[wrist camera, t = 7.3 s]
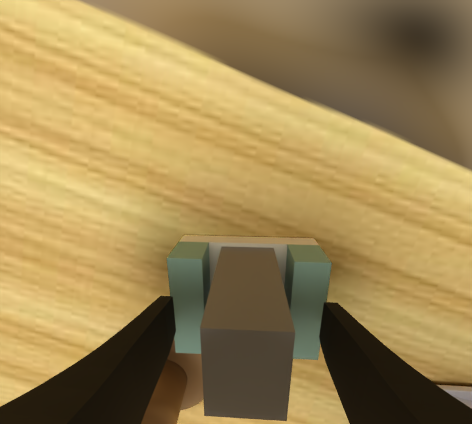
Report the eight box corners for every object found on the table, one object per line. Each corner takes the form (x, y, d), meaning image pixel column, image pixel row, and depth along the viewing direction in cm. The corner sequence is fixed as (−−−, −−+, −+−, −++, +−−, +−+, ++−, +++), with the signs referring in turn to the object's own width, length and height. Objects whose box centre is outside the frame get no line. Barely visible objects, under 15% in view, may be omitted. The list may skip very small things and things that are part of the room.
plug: (273, 247, 13) (295, 332, 7) (270, 306, 14) (286, 421, 8) (221, 246, 13) (199, 327, 7) (222, 304, 14) (204, 415, 8)
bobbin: (210, 332, 16) (186, 456, 9) (213, 402, 18) (194, 542, 11) (116, 328, 16) (31, 444, 10) (128, 396, 18) (64, 530, 12)
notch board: (313, 238, 13) (331, 262, 10) (304, 319, 15) (317, 359, 12) (183, 234, 14) (166, 258, 11) (188, 314, 15) (175, 352, 13)
